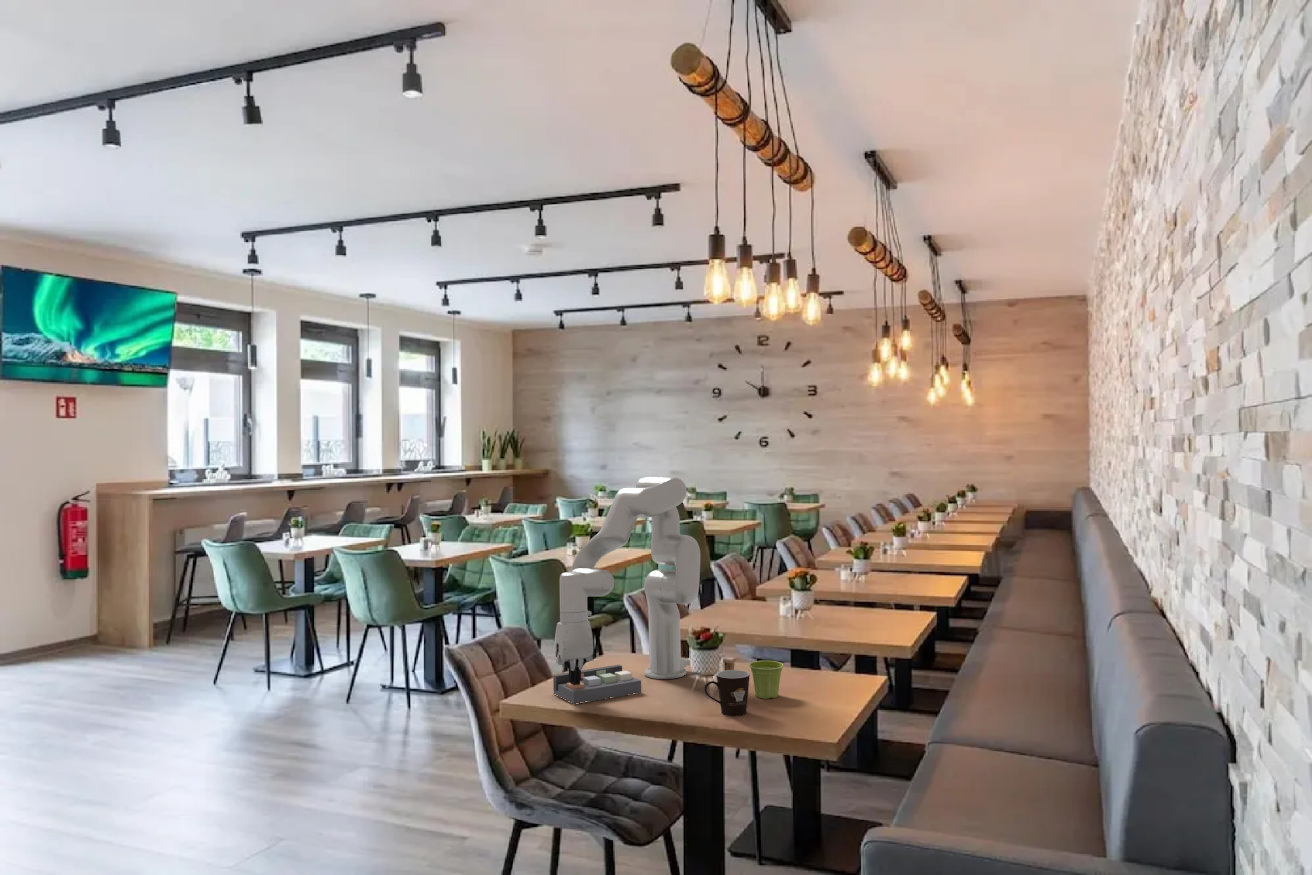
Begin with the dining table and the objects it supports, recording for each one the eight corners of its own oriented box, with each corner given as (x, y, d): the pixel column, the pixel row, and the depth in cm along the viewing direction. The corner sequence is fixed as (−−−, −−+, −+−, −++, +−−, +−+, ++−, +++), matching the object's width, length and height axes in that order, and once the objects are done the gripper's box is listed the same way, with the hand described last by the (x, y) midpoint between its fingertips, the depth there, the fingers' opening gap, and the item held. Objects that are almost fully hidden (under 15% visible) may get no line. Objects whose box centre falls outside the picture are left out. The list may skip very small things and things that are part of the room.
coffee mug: (750, 708, 248) (749, 670, 248) (750, 717, 239) (749, 678, 239) (706, 707, 249) (705, 669, 249) (704, 717, 240) (703, 678, 241)
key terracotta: (578, 689, 263) (578, 681, 263) (584, 692, 260) (584, 683, 260) (566, 691, 261) (566, 683, 261) (572, 694, 258) (572, 685, 258)
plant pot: (788, 693, 262) (787, 662, 262) (778, 702, 253) (777, 669, 253) (756, 690, 266) (755, 659, 266) (745, 698, 257) (744, 666, 257)
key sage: (610, 681, 268) (610, 673, 268) (616, 684, 265) (616, 675, 265) (599, 683, 266) (598, 674, 266) (605, 686, 263) (604, 677, 263)
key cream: (625, 678, 271) (625, 670, 271) (631, 681, 268) (631, 673, 268) (614, 680, 269) (614, 672, 269) (620, 683, 266) (620, 674, 266)
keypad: (619, 683, 277) (618, 664, 277) (641, 692, 266) (641, 673, 266) (553, 694, 266) (553, 674, 266) (573, 704, 255) (573, 684, 255)
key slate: (594, 684, 266) (594, 675, 266) (600, 686, 263) (600, 678, 263) (583, 686, 264) (582, 677, 264) (588, 688, 261) (588, 680, 261)
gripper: (591, 612, 268) (592, 677, 268) (543, 618, 260) (544, 684, 260) (604, 616, 261) (605, 682, 261) (554, 622, 254) (555, 690, 253)
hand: (574, 683), depth 260 cm, fingers closed
